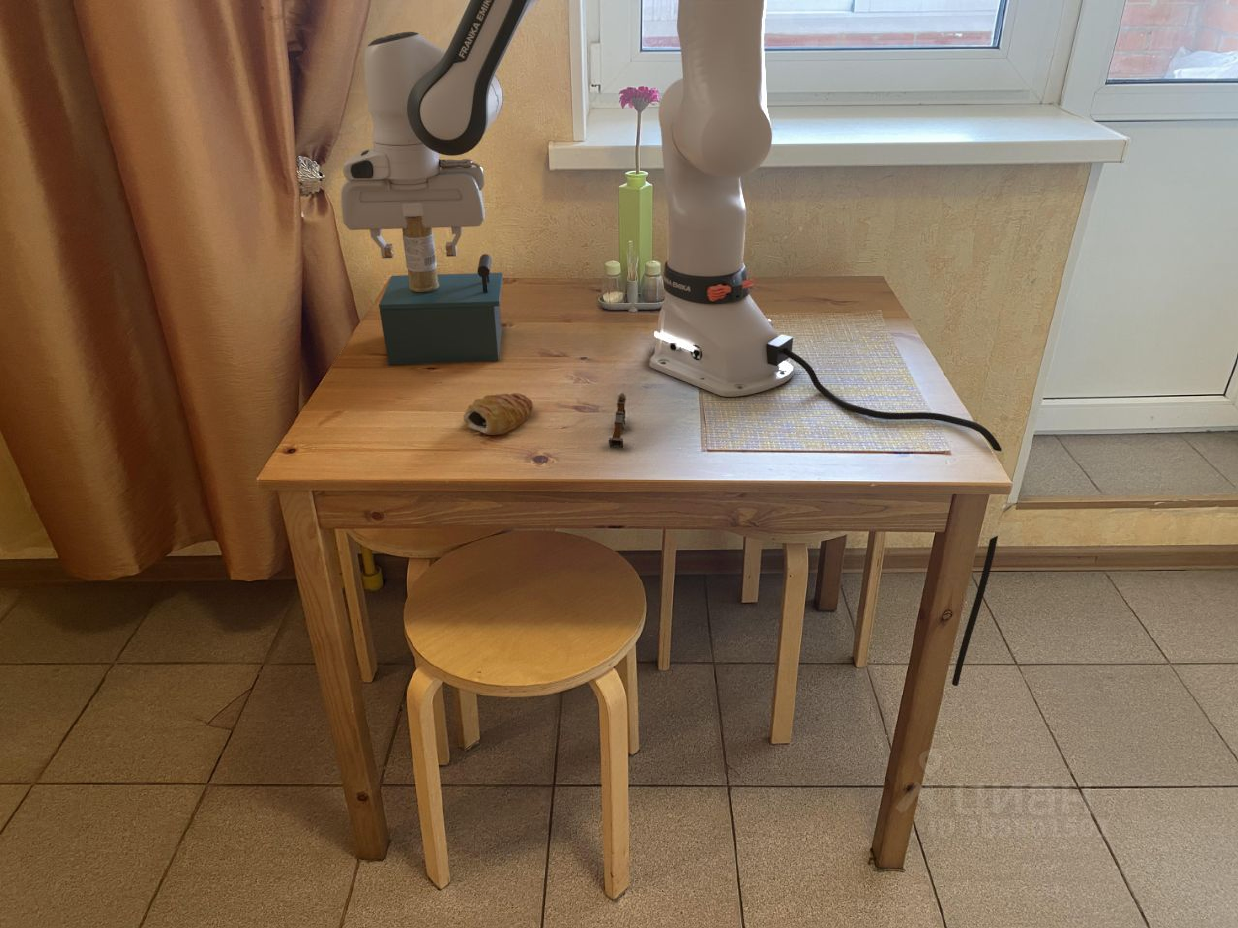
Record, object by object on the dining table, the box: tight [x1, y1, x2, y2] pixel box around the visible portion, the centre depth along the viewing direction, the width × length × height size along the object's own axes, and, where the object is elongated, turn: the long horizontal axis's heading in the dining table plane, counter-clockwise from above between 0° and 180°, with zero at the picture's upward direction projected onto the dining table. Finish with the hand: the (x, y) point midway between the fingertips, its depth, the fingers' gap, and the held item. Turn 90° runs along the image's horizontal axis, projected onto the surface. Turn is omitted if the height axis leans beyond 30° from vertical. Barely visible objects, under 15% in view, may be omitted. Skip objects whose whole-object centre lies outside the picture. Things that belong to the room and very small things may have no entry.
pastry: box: [463, 392, 534, 436], centre depth 117 cm, size 9×7×4 cm
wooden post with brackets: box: [608, 392, 627, 450], centre depth 114 cm, size 2×8×4 cm, turn 173°
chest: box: [379, 305, 503, 366], centre depth 137 cm, size 17×13×9 cm
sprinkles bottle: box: [401, 203, 439, 292], centre depth 130 cm, size 5×5×14 cm
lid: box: [378, 253, 504, 311], centre depth 133 cm, size 17×13×5 cm
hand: (420, 256), depth 131 cm, fingers open, 8 cm apart
